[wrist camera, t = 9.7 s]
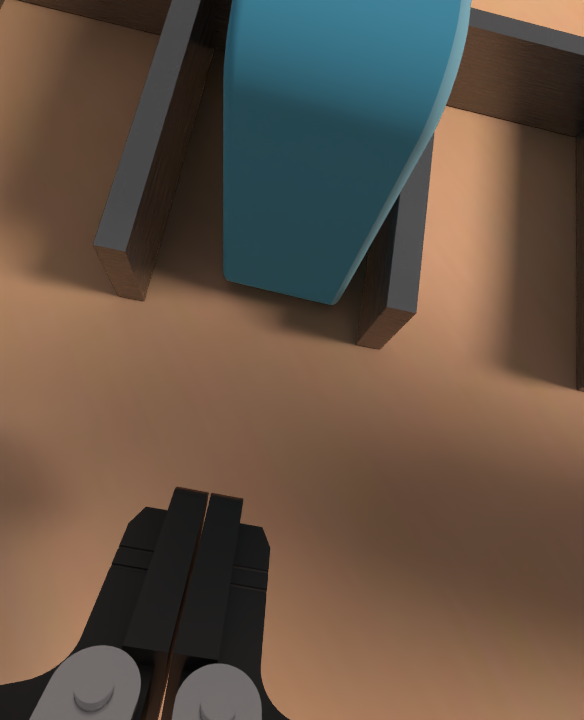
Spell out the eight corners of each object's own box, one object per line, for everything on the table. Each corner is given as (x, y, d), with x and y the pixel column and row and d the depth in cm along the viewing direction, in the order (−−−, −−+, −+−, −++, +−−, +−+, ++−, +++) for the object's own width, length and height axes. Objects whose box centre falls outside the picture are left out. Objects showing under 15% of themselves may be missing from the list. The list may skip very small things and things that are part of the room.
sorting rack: (594, 125, 25) (786, -72, 17) (599, 394, 21) (857, 316, 12) (-10, -25, 23) (-148, -342, 14) (-138, 243, 19) (-440, 22, 10)
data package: (281, 65, 24) (334, -342, 12) (373, 90, 24) (508, -285, 13) (221, 293, 20) (220, 15, 9) (330, 319, 20) (466, 82, 9)
